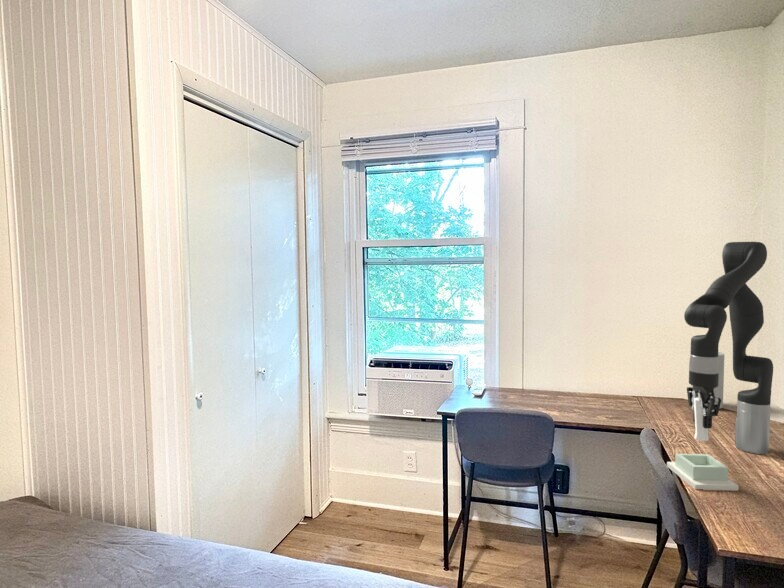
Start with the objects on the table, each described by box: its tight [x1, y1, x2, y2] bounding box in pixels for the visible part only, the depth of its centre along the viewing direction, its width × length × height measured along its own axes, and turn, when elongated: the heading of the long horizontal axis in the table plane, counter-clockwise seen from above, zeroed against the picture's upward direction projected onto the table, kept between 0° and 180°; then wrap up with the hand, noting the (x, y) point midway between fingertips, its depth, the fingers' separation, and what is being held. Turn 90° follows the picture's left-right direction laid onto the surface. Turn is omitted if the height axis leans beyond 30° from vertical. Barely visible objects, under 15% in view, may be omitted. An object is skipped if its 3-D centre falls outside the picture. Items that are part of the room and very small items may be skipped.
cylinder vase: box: [690, 351, 725, 410], centre depth 215 cm, size 12×12×25 cm
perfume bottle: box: [693, 391, 710, 442], centre depth 142 cm, size 5×4×15 cm
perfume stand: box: [666, 453, 740, 492], centre depth 143 cm, size 16×12×6 cm
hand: (702, 424), depth 142 cm, fingers closed on perfume bottle, 4 cm apart
